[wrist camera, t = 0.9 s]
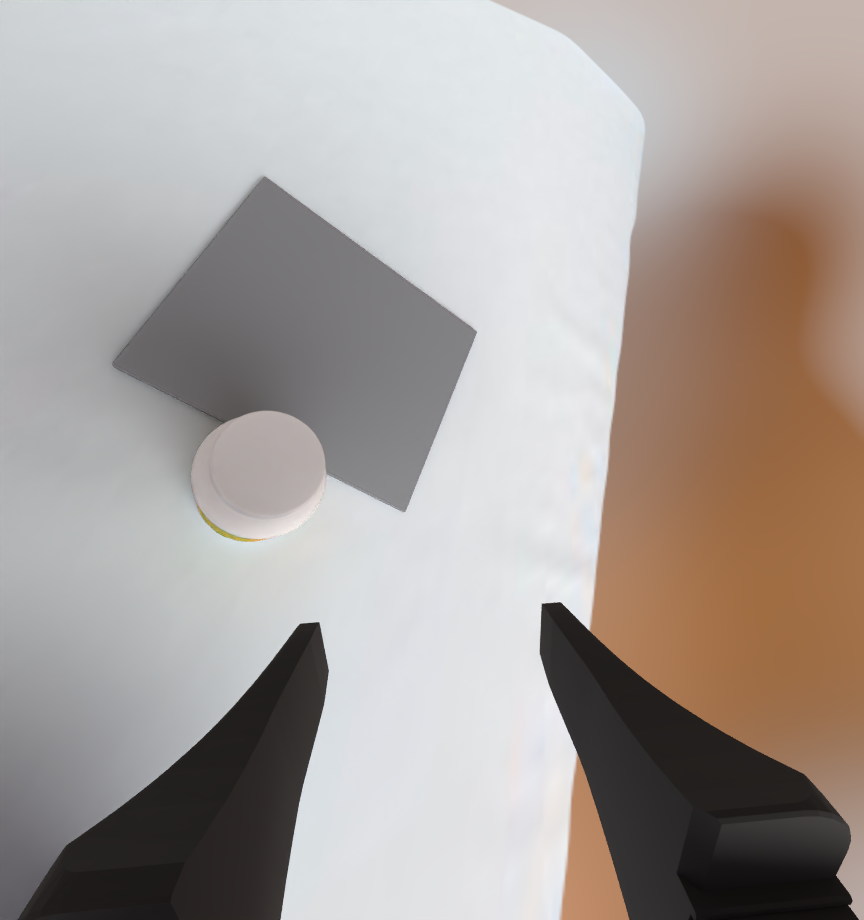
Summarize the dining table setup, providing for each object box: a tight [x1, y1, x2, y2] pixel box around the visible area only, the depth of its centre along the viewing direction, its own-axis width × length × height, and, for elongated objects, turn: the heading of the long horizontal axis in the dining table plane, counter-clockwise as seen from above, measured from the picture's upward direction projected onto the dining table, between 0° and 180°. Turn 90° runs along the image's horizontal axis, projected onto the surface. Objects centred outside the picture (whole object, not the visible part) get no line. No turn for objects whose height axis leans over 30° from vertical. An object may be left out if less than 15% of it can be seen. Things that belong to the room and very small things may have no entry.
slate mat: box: [112, 177, 477, 512], centre depth 27 cm, size 16×18×1 cm
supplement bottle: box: [191, 411, 326, 542], centre depth 19 cm, size 5×5×10 cm
